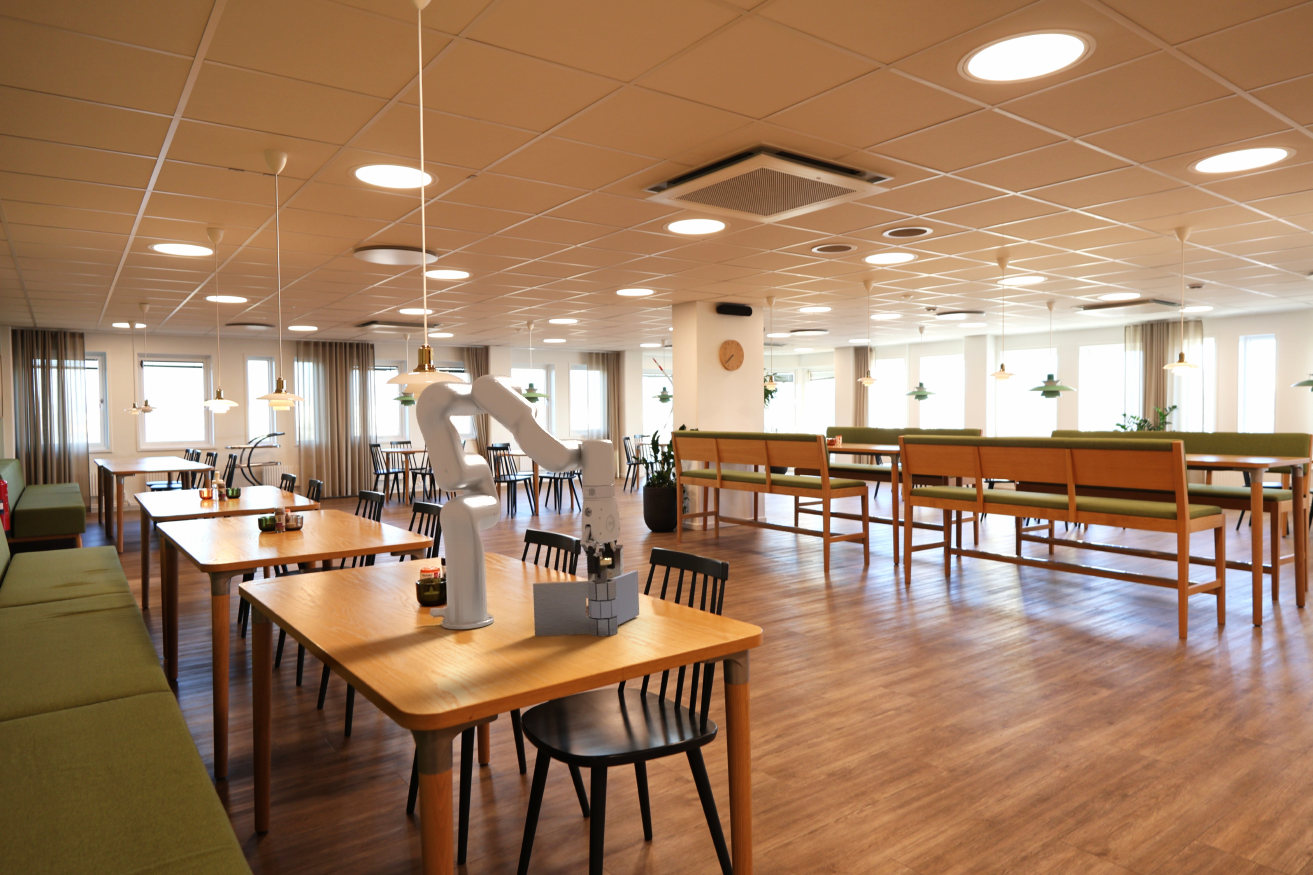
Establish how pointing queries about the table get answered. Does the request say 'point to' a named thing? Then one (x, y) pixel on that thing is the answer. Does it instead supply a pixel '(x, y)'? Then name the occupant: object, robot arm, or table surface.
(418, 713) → the table surface
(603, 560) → the hinge pin
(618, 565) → the coffee box
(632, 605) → the hinge leaf
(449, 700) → the table surface
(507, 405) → the robot arm
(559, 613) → the hinge frame
